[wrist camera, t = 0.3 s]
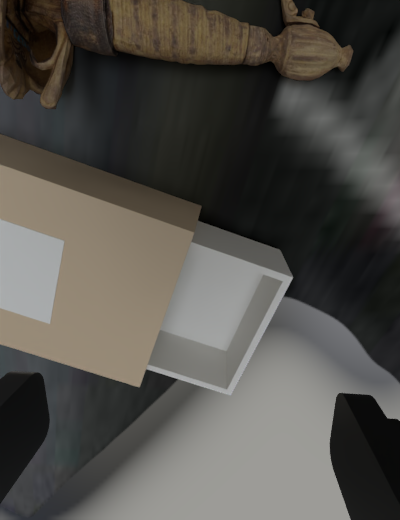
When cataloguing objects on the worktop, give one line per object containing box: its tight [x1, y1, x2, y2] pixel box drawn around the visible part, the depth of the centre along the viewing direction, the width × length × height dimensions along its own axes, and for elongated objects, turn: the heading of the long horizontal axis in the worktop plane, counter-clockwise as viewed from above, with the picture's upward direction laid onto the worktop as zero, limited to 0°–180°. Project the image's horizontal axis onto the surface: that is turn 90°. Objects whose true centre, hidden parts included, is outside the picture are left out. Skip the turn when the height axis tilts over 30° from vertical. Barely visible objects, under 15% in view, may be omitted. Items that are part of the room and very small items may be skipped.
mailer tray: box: [146, 221, 293, 395], centre depth 29 cm, size 14×19×6 cm
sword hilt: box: [0, 0, 353, 109], centre depth 21 cm, size 10×24×15 cm
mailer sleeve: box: [0, 134, 202, 387], centre depth 29 cm, size 16×20×8 cm
